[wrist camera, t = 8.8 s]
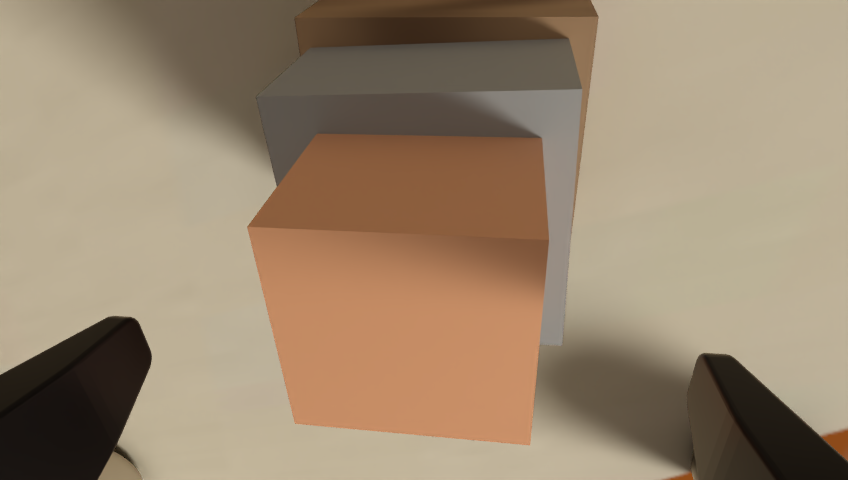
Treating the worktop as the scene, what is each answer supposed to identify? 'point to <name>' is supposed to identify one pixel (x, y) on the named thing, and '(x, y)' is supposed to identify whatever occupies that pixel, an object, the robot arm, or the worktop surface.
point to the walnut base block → (455, 28)
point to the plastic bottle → (119, 469)
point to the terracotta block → (409, 283)
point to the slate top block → (443, 114)
